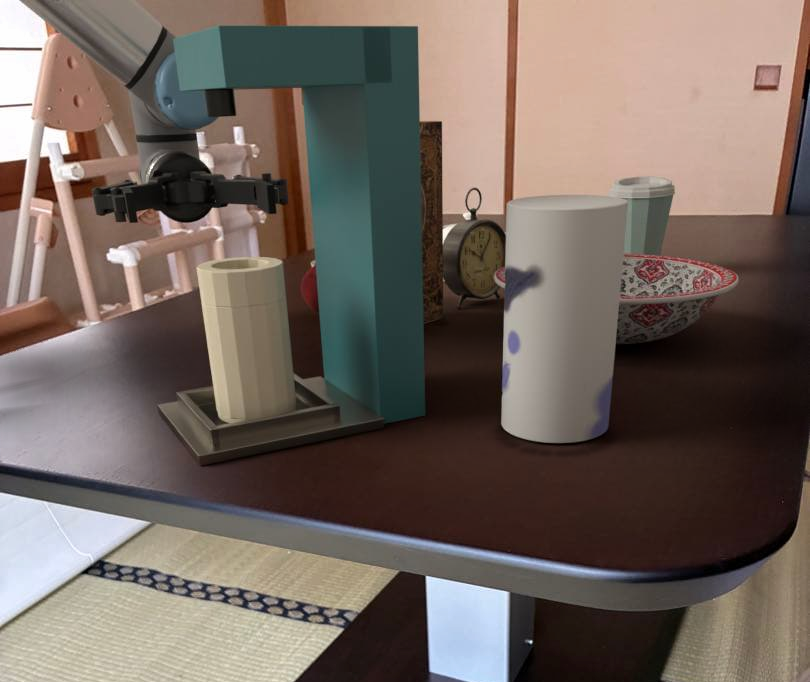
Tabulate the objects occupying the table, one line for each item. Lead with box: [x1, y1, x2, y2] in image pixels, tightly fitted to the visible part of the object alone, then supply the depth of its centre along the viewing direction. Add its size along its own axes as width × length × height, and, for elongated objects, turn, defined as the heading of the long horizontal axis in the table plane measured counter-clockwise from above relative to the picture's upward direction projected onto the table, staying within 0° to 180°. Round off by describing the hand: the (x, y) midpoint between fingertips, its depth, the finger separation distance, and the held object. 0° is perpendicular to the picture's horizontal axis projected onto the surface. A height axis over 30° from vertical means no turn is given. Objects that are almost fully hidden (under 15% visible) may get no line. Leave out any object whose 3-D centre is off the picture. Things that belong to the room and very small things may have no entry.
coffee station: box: [157, 25, 426, 467], centre depth 76 cm, size 16×23×33 cm
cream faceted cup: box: [196, 256, 296, 423], centre depth 79 cm, size 8×8×14 cm
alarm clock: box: [443, 187, 506, 310], centre depth 122 cm, size 11×5×16 cm, turn 131°
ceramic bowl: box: [494, 254, 739, 345], centre depth 105 cm, size 29×29×8 cm
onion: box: [300, 263, 319, 315], centre depth 121 cm, size 6×6×8 cm
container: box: [500, 194, 628, 444], centre depth 75 cm, size 10×10×20 cm
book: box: [420, 120, 444, 325], centre depth 110 cm, size 16×6×25 cm, turn 137°
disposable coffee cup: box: [608, 175, 676, 256], centre depth 139 cm, size 11×11×15 cm
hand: (203, 203), depth 82 cm, fingers open, 13 cm apart
